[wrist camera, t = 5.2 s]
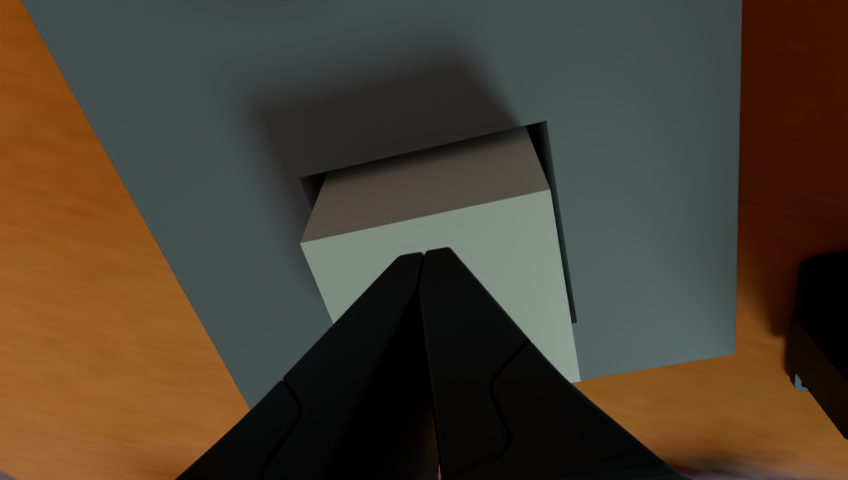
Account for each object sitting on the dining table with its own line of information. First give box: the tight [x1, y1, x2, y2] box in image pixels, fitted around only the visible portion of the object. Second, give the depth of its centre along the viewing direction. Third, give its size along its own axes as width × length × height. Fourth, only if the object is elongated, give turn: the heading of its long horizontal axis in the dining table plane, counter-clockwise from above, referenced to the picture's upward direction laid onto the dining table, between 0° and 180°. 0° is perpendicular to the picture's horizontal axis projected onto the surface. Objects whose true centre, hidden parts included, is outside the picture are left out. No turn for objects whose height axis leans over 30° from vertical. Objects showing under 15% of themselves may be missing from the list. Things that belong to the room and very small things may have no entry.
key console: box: [21, 0, 742, 410], centre depth 15 cm, size 14×20×6 cm
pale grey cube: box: [300, 126, 580, 383], centre depth 15 cm, size 5×5×5 cm
